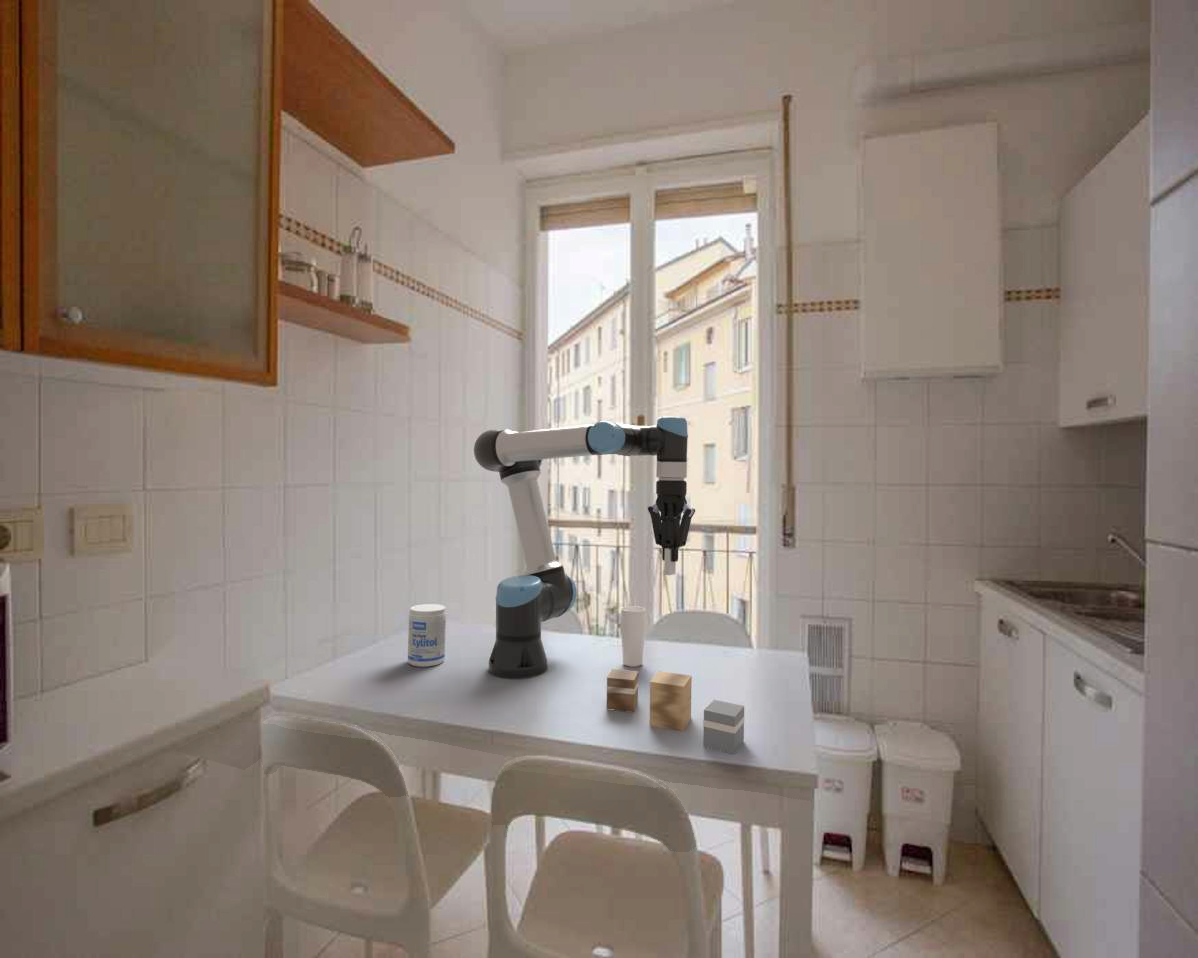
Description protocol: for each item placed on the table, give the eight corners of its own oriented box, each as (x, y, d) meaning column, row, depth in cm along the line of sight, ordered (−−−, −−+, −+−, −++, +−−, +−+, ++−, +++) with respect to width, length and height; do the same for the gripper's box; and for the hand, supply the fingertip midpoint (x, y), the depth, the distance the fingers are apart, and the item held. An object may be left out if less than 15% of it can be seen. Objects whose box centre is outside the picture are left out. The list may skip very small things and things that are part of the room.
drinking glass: (637, 670, 156) (638, 612, 156) (615, 665, 160) (616, 609, 160) (649, 663, 162) (650, 607, 162) (627, 658, 166) (628, 604, 165)
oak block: (649, 725, 122) (650, 681, 122) (658, 712, 129) (659, 671, 129) (683, 731, 120) (683, 686, 120) (690, 718, 126) (691, 675, 126)
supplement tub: (409, 669, 154) (410, 612, 154) (406, 658, 163) (406, 604, 163) (448, 665, 158) (448, 609, 158) (442, 655, 167) (443, 602, 166)
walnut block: (606, 709, 130) (606, 677, 130) (611, 699, 136) (611, 668, 136) (634, 712, 129) (634, 680, 129) (638, 701, 135) (638, 670, 135)
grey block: (702, 746, 113) (703, 709, 113) (713, 734, 118) (714, 699, 118) (734, 754, 110) (735, 716, 110) (743, 741, 115) (744, 705, 115)
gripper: (702, 480, 147) (700, 575, 147) (659, 479, 156) (657, 569, 156) (685, 480, 141) (683, 579, 142) (641, 479, 150) (639, 572, 150)
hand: (669, 574), depth 149 cm, fingers closed
